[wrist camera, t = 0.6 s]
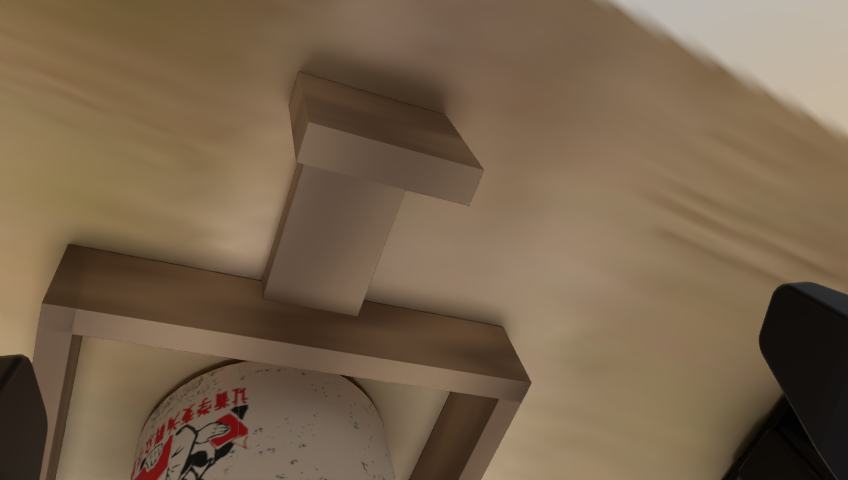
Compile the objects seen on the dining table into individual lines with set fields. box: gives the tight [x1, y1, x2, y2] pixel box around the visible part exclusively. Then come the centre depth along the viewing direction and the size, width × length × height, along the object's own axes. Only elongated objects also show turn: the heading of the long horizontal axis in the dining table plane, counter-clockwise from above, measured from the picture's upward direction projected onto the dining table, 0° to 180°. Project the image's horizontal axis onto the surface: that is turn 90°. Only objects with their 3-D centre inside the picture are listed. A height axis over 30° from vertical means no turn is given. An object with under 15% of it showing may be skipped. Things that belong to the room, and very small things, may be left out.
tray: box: [32, 72, 531, 480], centre depth 23 cm, size 14×23×4 cm, turn 159°
